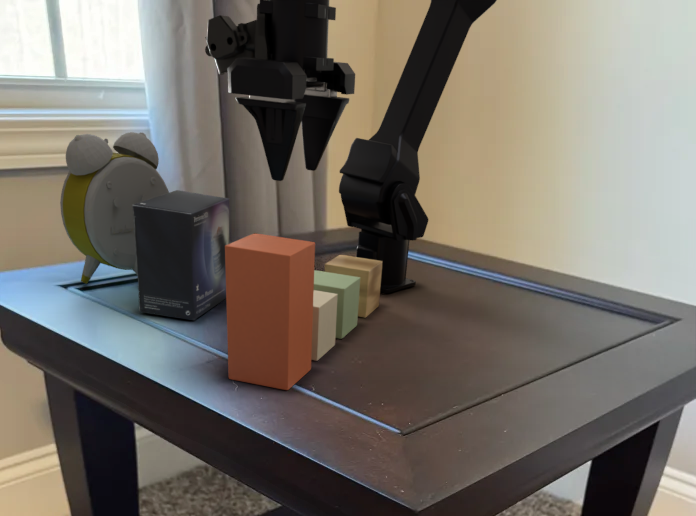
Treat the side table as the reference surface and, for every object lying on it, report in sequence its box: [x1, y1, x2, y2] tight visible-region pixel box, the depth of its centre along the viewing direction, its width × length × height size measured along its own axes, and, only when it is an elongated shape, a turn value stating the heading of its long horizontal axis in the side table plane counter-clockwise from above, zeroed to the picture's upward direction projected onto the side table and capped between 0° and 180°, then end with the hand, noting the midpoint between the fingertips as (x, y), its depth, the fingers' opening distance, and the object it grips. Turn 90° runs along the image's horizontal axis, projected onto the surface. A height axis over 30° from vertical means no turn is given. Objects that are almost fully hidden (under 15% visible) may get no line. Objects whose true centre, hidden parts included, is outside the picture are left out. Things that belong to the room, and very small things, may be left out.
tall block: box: [225, 232, 316, 391], centre depth 65 cm, size 6×6×11 cm
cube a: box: [324, 254, 382, 318], centre depth 85 cm, size 5×5×5 cm
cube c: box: [311, 290, 338, 362], centre depth 72 cm, size 5×5×5 cm
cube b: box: [314, 269, 360, 340], centre depth 78 cm, size 5×5×5 cm
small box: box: [132, 189, 231, 321], centre depth 80 cm, size 11×6×10 cm, turn 168°
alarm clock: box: [59, 131, 170, 285], centre depth 84 cm, size 12×7×15 cm, turn 144°
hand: (295, 175), depth 80 cm, fingers open, 9 cm apart
